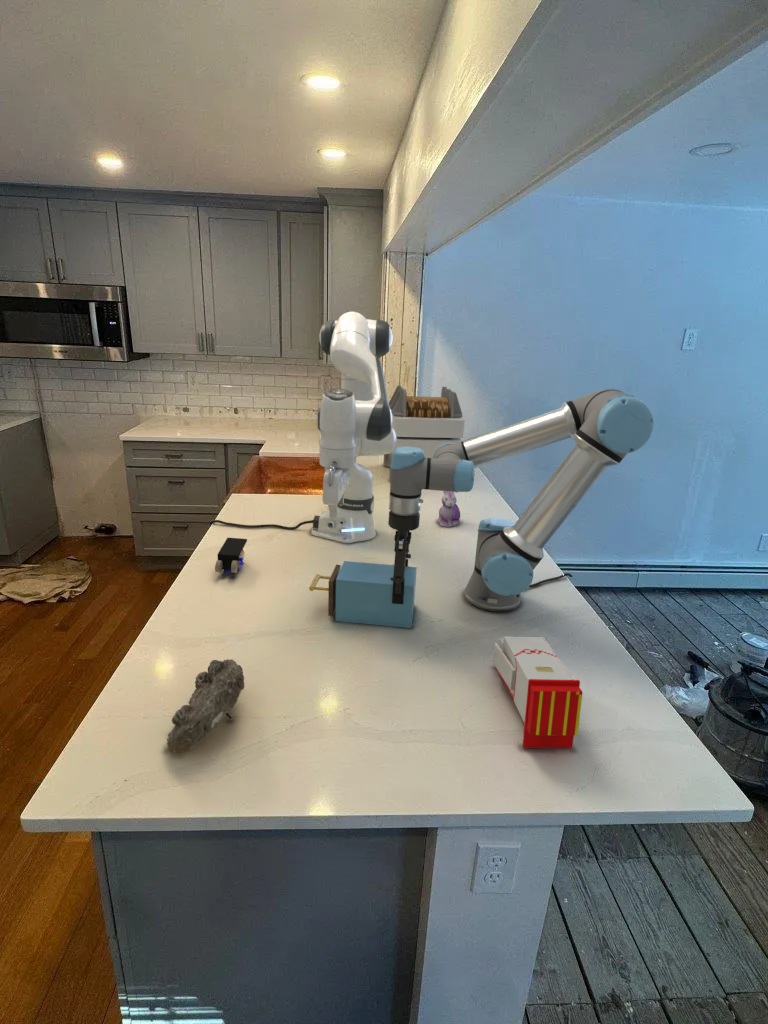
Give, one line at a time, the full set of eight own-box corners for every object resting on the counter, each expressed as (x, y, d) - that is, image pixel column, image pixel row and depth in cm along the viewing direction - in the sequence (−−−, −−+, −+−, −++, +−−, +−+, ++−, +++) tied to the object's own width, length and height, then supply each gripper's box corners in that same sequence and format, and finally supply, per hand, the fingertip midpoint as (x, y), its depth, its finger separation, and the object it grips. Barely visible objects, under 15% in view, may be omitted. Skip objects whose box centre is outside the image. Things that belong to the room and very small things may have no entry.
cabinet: (335, 620, 143) (336, 579, 139) (343, 600, 153) (344, 560, 149) (411, 628, 141) (413, 586, 137) (414, 606, 152) (416, 567, 148)
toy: (540, 620, 128) (592, 687, 99) (535, 674, 131) (584, 755, 102) (487, 619, 128) (523, 686, 99) (483, 673, 131) (517, 754, 101)
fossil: (192, 660, 117) (244, 628, 112) (224, 691, 120) (276, 661, 115) (142, 746, 98) (202, 712, 93) (182, 779, 101) (242, 748, 96)
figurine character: (238, 584, 162) (249, 557, 175) (236, 562, 158) (247, 536, 172) (215, 584, 161) (227, 556, 175) (212, 561, 158) (225, 535, 171)
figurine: (445, 529, 206) (449, 489, 200) (430, 519, 214) (433, 481, 209) (467, 525, 210) (470, 487, 205) (451, 516, 218) (454, 479, 213)
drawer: (307, 613, 144) (307, 579, 141) (316, 595, 153) (316, 562, 150) (398, 622, 142) (400, 587, 138) (402, 603, 151) (404, 570, 148)
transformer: (382, 463, 289) (386, 382, 275) (445, 464, 293) (451, 384, 279) (390, 482, 257) (394, 392, 243) (460, 483, 261) (468, 394, 247)
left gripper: (343, 468, 129) (342, 525, 133) (356, 449, 148) (354, 499, 153) (316, 467, 129) (316, 524, 134) (332, 448, 149) (331, 498, 153)
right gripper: (417, 530, 126) (411, 616, 133) (422, 497, 148) (417, 573, 155) (383, 527, 126) (379, 613, 134) (393, 495, 148) (389, 570, 156)
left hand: (336, 510), depth 143 cm, fingers open, 8 cm apart
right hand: (399, 592), depth 144 cm, fingers closed on cabinet, 11 cm apart
